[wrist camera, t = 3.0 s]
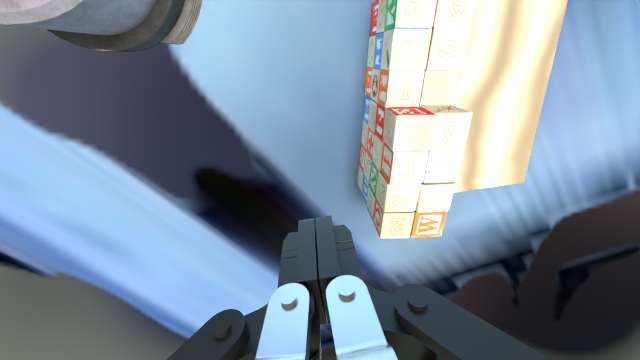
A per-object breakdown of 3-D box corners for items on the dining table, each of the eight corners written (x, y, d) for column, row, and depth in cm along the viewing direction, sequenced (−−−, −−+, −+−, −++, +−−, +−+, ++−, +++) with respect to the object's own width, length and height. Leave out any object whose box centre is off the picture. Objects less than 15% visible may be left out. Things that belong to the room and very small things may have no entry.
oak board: (576, -50, 25) (580, -51, 25) (521, 181, 36) (523, 182, 36) (431, -26, 25) (433, -27, 25) (422, 196, 37) (423, 197, 36)
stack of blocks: (370, 1, 26) (416, -39, 15) (428, 2, 26) (516, -38, 15) (356, 184, 36) (379, 241, 25) (400, 183, 36) (442, 239, 25)
